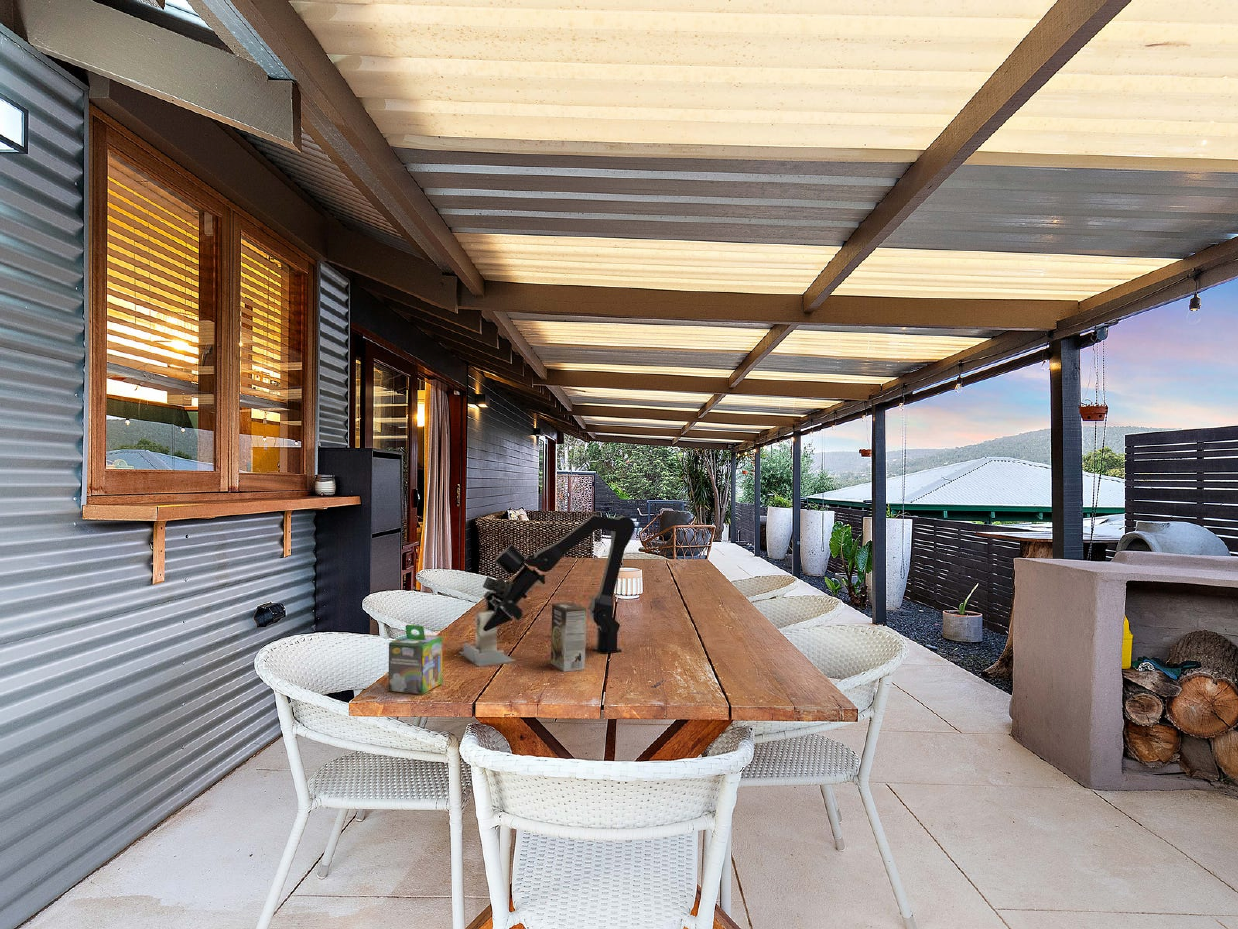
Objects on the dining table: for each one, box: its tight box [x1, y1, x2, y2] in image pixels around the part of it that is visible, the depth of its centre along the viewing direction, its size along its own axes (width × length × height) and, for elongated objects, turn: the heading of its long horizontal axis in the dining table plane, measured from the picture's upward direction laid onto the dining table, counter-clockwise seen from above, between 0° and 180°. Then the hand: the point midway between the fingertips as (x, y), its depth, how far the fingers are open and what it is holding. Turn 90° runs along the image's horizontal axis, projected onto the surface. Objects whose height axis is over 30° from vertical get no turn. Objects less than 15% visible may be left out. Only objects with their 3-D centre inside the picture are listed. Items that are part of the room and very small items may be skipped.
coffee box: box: [550, 602, 587, 673], centre depth 179 cm, size 9×6×16 cm
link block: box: [474, 609, 498, 653], centre depth 187 cm, size 4×5×11 cm
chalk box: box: [388, 624, 443, 696], centre depth 158 cm, size 9×9×15 cm
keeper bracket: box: [459, 642, 516, 668], centre depth 187 cm, size 16×10×4 cm, turn 31°
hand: (481, 628), depth 186 cm, fingers closed on link block, 5 cm apart
